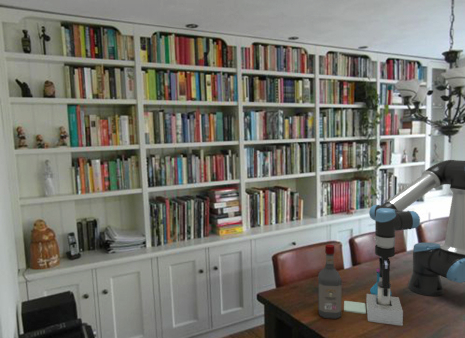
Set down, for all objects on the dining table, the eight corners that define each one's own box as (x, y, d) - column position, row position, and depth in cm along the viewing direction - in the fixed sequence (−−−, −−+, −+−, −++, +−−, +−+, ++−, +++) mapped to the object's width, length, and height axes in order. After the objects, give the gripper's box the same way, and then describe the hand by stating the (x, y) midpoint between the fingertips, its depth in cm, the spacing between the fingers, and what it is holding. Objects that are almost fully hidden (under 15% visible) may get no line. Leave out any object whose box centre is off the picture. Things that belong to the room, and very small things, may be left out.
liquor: (341, 319, 147) (342, 249, 144) (319, 318, 148) (319, 248, 145) (339, 309, 156) (339, 243, 153) (317, 307, 157) (318, 242, 154)
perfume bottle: (389, 307, 156) (390, 274, 155) (368, 302, 161) (368, 271, 159) (392, 299, 164) (393, 268, 162) (372, 294, 169) (372, 264, 167)
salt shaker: (389, 309, 150) (390, 282, 150) (390, 314, 146) (391, 286, 145) (376, 307, 152) (376, 280, 151) (377, 313, 147) (377, 285, 146)
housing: (398, 310, 153) (398, 297, 153) (402, 325, 141) (402, 311, 140) (366, 306, 157) (366, 293, 157) (367, 321, 145) (368, 307, 144)
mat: (365, 304, 159) (365, 303, 159) (365, 314, 151) (365, 312, 151) (344, 301, 162) (344, 300, 162) (344, 311, 154) (344, 309, 154)
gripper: (373, 237, 158) (372, 285, 160) (377, 253, 137) (376, 308, 139) (391, 238, 156) (390, 287, 158) (398, 255, 135) (397, 311, 137)
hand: (383, 297), depth 148 cm, fingers open, 9 cm apart
